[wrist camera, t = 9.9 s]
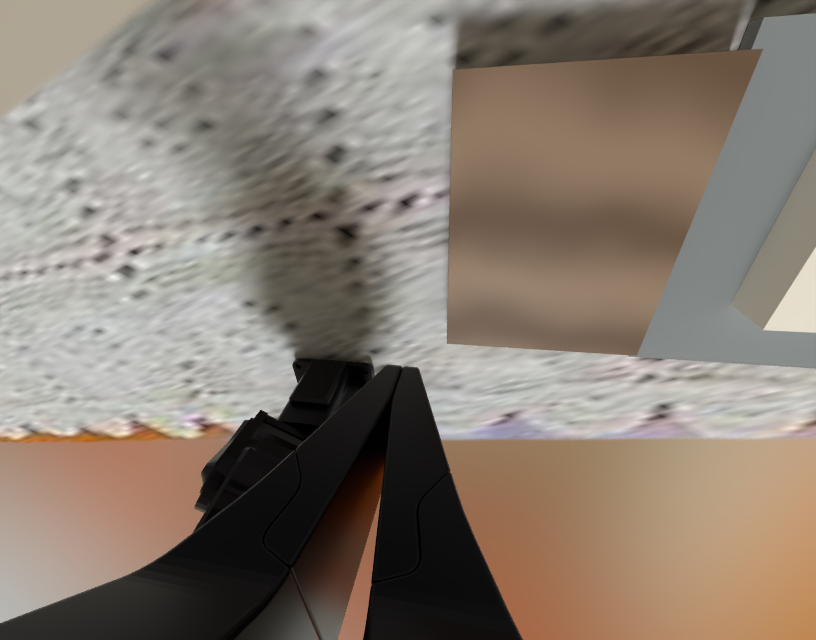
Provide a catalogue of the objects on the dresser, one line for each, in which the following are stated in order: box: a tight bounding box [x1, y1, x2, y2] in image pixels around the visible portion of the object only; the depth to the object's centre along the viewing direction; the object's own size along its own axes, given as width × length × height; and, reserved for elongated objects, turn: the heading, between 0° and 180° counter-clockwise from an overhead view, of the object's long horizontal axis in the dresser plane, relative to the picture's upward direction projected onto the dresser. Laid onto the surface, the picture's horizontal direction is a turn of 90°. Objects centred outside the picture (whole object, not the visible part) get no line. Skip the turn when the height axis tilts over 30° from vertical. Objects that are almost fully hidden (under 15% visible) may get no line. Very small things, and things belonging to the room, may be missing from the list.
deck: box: [447, 49, 763, 356], centre depth 18 cm, size 14×11×2 cm
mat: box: [629, 13, 816, 368], centre depth 16 cm, size 16×11×1 cm
